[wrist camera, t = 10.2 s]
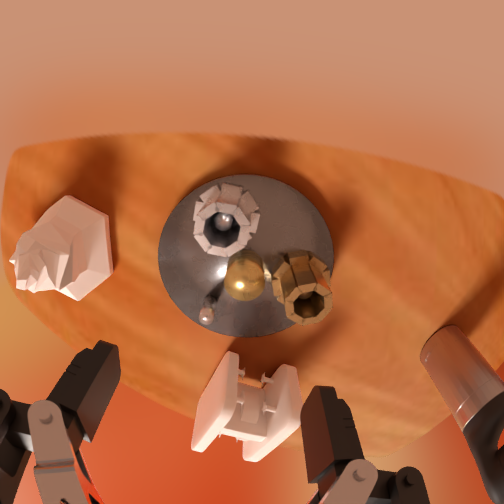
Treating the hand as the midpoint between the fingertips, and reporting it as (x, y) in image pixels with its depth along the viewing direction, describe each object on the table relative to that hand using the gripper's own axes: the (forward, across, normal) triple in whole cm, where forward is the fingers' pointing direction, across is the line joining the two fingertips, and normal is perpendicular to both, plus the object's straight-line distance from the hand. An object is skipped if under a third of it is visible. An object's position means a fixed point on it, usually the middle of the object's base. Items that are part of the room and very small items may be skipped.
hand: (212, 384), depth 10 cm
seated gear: (+21, -8, +4) cm, 23 cm away
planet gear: (+21, +2, -2) cm, 21 cm away
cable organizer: (+23, -6, +24) cm, 34 cm away
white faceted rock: (+22, +22, +6) cm, 32 cm away
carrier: (+22, -2, +4) cm, 23 cm away
